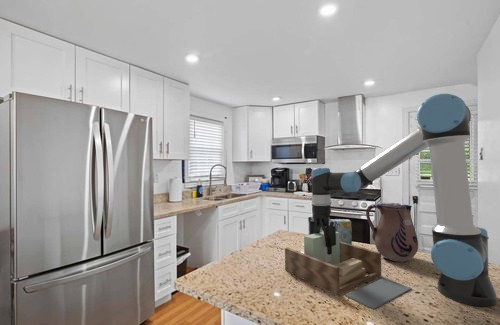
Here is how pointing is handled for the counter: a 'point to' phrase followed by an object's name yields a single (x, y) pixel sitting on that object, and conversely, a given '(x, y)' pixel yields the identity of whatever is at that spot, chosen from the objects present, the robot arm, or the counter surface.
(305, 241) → the pale green block
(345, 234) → the snack box
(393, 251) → the ceramic pitcher
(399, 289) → the mat
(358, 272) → the offcut stack
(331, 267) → the rack
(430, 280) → the counter surface
